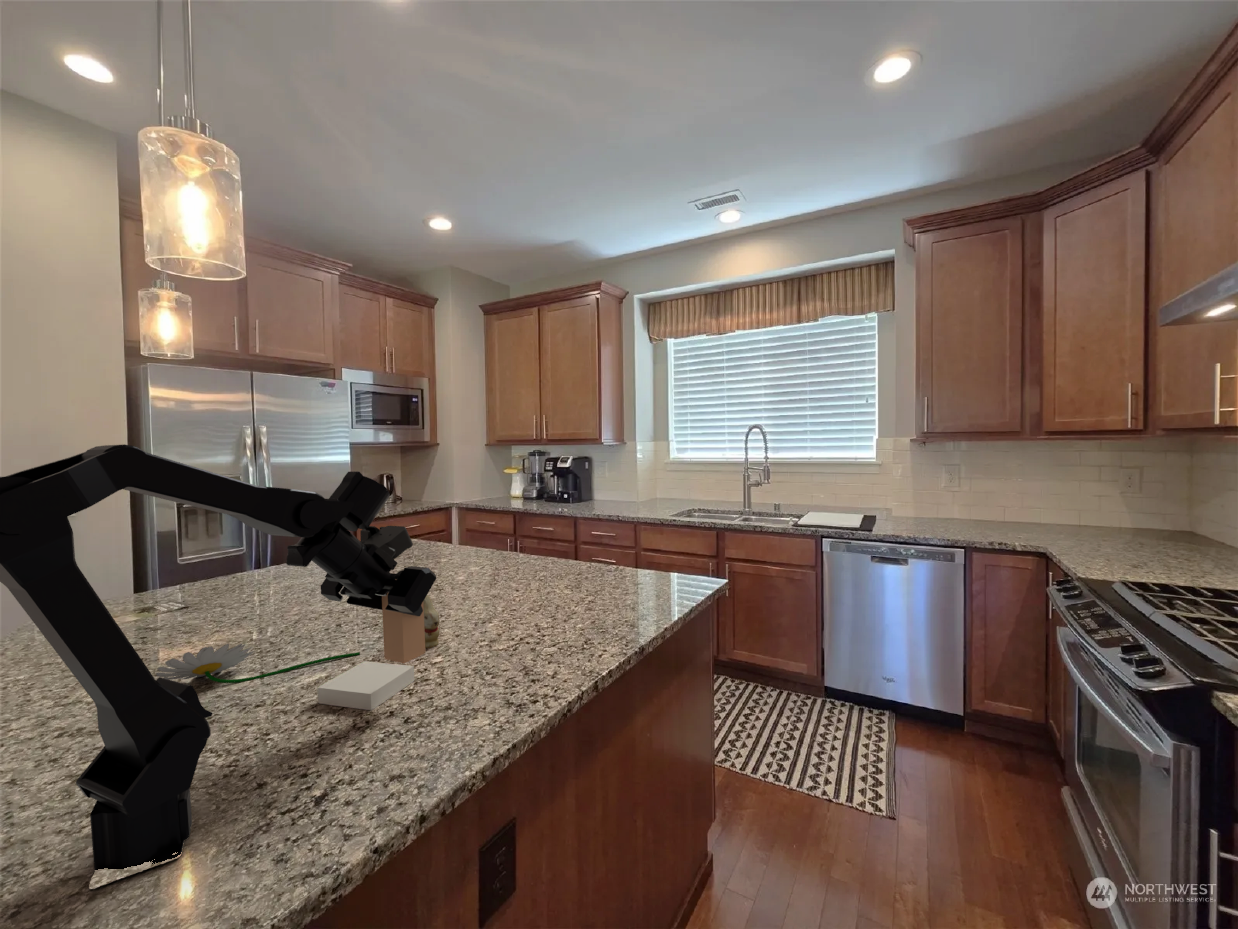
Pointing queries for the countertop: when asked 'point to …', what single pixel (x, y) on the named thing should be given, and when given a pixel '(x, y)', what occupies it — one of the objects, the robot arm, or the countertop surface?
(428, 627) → the chocolate bunny
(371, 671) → the plinth
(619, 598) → the countertop surface
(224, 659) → the flower
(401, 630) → the block
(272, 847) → the countertop surface
